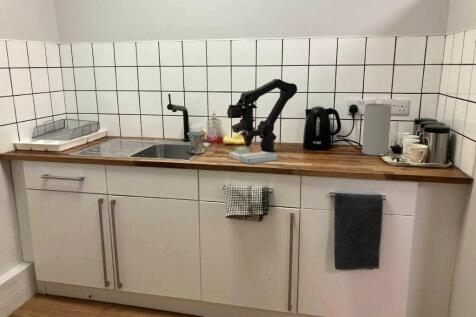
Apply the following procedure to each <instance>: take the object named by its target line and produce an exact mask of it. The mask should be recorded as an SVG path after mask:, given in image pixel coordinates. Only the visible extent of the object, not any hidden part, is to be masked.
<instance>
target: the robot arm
mask: <svg viewBox="0 0 476 317" xmlns="http://www.w3.org/2000/svg"><path fill="white" fill-rule="evenodd" d="M275 89H278V90H280V91H279V97H278V99H277V100H276V102H275V103H274V106H273V107H272V108H271V111H270V113H269V114H268V116H267V117H266V119H265V120H260V121H259V124H258V125H257V127H255V126H254V122H255V121H256V120H255V119H254V109H257V108H258V106H257V105H256V104H255V103H256V102H257V101H258V100H259V98H260V97H262V96H264V95H267V93H270V92H272V91H273V90H275ZM297 92H298V85H297V84H295V83H291V82H290V83H289V82H286V81H284V80H282V79H280V78H274V79H273V80H270V81H269V82H267V83H265V84H263V85H261V86H259V87H257V88H255V89H251V90H247V91H243V92H242V93H241V94H240V98H239V99H238V101H237V102H236V104H229V105H228V108H227V111H226V114H227V117H228V119H240V120H239V122H237V123H235V124H233V125H231V130H232V132H233V133H235V134H238V133H239V135H240V136H241V137H242V138H243V141H244V144H245V147H246V148H248V146H251V144H252V141H253V139H254V138H255V137H259V139H261V140H260V144H259V145H260V146H259V147H261V151H264V152H270V153H272V152H275V151H276V149H275V141H276V140H277V135H276V134H275V133H274V129H275V124H276V122H277V119H279V116H280V115H281V113H282V111H283V110H284V108H285V107H286V105H287V103H288V101H289V100H290V99H292V98H293V97H294V96H295V95H296V94H297Z"/></svg>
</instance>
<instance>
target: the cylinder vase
mask: <svg viewBox="0 0 476 317" xmlns="http://www.w3.org/2000/svg"><path fill="white" fill-rule="evenodd" d="M392 106H393V105H392V104H388V103H365V104H364V116H363V130H362V133H363V134H362V146H361V152H362V154H364V155H368V156H376V157H377V156H378V157H379V156H380V154H385V153H387V154H388V150H389V138H390V128H391V117H392V116H391V115H392ZM380 157H381V156H380Z"/></svg>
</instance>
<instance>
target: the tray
mask: <svg viewBox="0 0 476 317" xmlns="http://www.w3.org/2000/svg"><path fill="white" fill-rule="evenodd" d="M278 158H279V155H278V154H275V153H272V152H267V156H265V157H257V158H246V157H244V156H241V155H239V160H238V161H240V162H242V163H245V164H247V165H254V164H261V163H269V162H275V161H278Z"/></svg>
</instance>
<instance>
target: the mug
mask: <svg viewBox="0 0 476 317" xmlns="http://www.w3.org/2000/svg"><path fill="white" fill-rule="evenodd" d="M205 135H206V132H205V131H189V132H187V136H188V139H189V144H190V146H189V150H188V153H189V154H192V155H200V154H204V153H205V152H206V150H205V147H204V146H205V145H204V141H205V140H204V138H205Z"/></svg>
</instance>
